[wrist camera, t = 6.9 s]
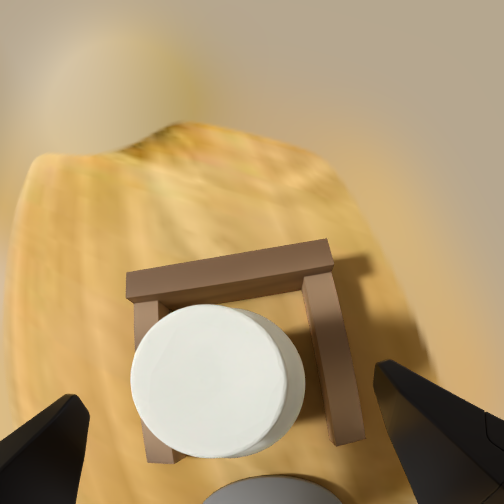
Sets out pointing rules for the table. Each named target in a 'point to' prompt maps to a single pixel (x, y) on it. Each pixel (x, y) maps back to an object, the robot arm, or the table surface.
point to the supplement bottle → (217, 381)
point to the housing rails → (251, 286)
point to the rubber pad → (272, 492)
